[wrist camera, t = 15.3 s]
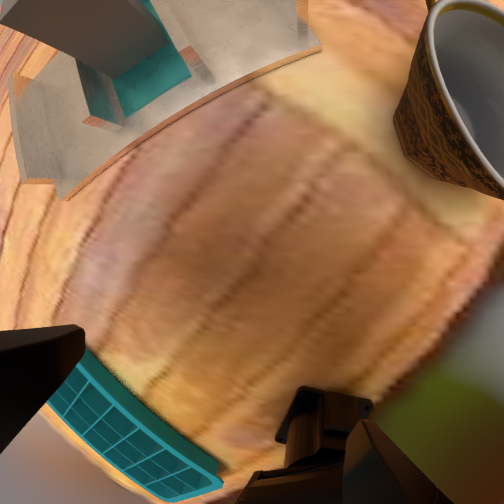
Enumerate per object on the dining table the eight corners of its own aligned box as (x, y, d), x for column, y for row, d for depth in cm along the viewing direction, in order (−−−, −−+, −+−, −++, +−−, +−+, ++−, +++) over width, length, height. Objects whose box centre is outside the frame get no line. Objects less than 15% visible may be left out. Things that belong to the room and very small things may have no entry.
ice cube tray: (81, 330, 23) (61, 342, 20) (235, 464, 23) (229, 485, 20) (52, 381, 26) (38, 392, 23) (176, 487, 26) (168, 504, 23)
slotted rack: (321, 50, 16) (325, 11, 11) (67, 200, 21) (24, 203, 16) (233, -48, 15) (220, -82, 10) (39, 81, 20) (6, 71, 15)
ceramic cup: (498, 190, 15) (592, 192, 5) (392, 216, 17) (477, 232, 7) (444, 37, 14) (499, -27, 4) (334, 41, 16) (350, -55, 6)
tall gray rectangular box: (169, 43, 16) (72, -49, 4) (115, 80, 17) (-2, 23, 6) (156, 18, 16) (69, -65, 4) (105, 53, 17) (4, -5, 5)
